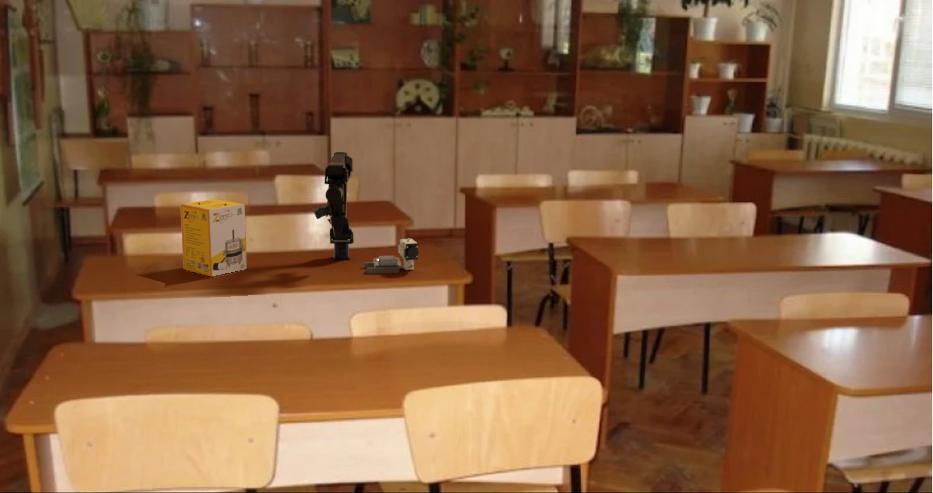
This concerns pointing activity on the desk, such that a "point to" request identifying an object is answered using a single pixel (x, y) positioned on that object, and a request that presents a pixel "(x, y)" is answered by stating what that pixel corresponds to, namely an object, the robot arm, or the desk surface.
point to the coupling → (387, 261)
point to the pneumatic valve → (408, 252)
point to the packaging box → (213, 236)
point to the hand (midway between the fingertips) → (336, 238)
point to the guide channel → (379, 269)
